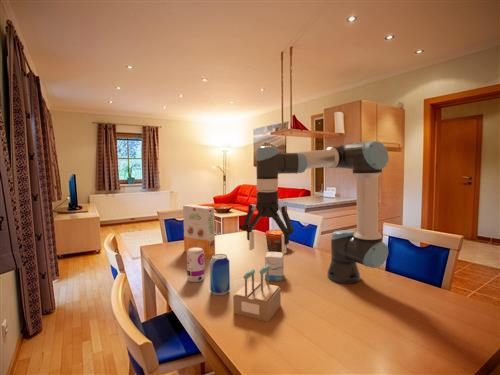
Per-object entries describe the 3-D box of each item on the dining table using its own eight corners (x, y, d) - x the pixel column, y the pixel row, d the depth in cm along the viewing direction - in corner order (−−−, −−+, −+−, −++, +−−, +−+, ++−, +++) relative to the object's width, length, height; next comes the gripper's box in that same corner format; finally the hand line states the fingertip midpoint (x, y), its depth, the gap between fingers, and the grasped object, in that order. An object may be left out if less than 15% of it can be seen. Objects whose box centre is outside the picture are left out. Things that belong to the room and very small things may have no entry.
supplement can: (207, 277, 139) (207, 247, 138) (197, 284, 132) (197, 252, 131) (194, 275, 143) (193, 246, 142) (183, 281, 135) (183, 250, 134)
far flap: (262, 284, 114) (262, 263, 113) (247, 298, 101) (247, 275, 101) (249, 281, 116) (249, 261, 116) (233, 295, 104) (233, 273, 103)
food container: (290, 251, 181) (290, 234, 180) (265, 251, 181) (265, 234, 181) (287, 244, 197) (287, 229, 196) (264, 244, 197) (264, 229, 196)
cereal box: (215, 255, 174) (214, 207, 172) (207, 258, 169) (206, 208, 167) (192, 248, 188) (190, 204, 186) (184, 251, 184) (183, 205, 181)
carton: (280, 305, 111) (280, 288, 110) (268, 322, 99) (268, 302, 99) (248, 298, 117) (248, 282, 116) (233, 313, 105) (233, 295, 105)
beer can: (214, 298, 118) (213, 260, 117) (207, 290, 125) (207, 255, 124) (232, 293, 122) (232, 257, 120) (225, 286, 129) (224, 252, 128)
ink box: (282, 281, 134) (282, 257, 133) (264, 280, 136) (264, 256, 135) (283, 274, 142) (283, 252, 142) (267, 273, 144) (267, 251, 143)
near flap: (279, 286, 111) (279, 265, 111) (266, 301, 99) (266, 278, 98) (266, 284, 114) (266, 263, 113) (252, 298, 101) (252, 275, 101)
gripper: (303, 191, 98) (303, 252, 99) (241, 189, 108) (242, 244, 109) (297, 192, 91) (297, 258, 92) (232, 190, 101) (233, 250, 103)
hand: (267, 251), depth 101 cm, fingers open, 12 cm apart
